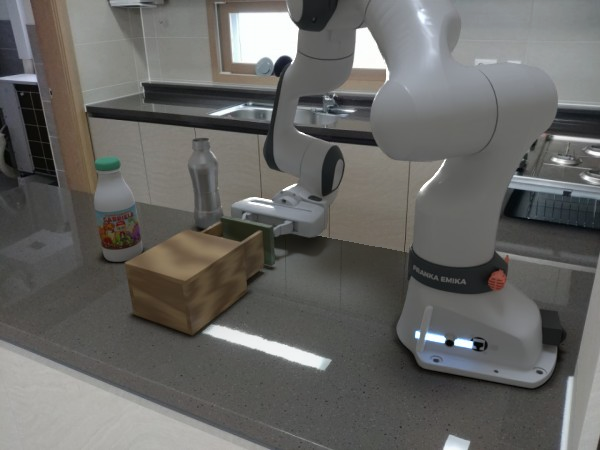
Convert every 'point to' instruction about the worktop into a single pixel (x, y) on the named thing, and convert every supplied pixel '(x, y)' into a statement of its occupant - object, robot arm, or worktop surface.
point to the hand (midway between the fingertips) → (256, 229)
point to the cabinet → (187, 280)
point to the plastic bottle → (205, 184)
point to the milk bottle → (116, 213)
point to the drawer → (247, 240)
